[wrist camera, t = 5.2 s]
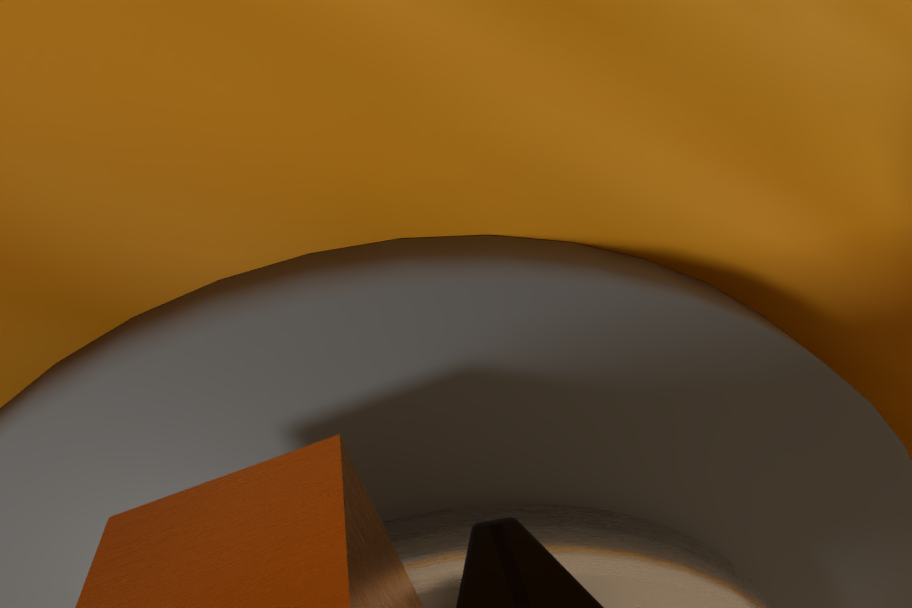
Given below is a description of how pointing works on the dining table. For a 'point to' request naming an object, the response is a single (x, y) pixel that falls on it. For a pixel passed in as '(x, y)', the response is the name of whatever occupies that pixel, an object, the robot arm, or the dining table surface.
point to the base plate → (471, 411)
